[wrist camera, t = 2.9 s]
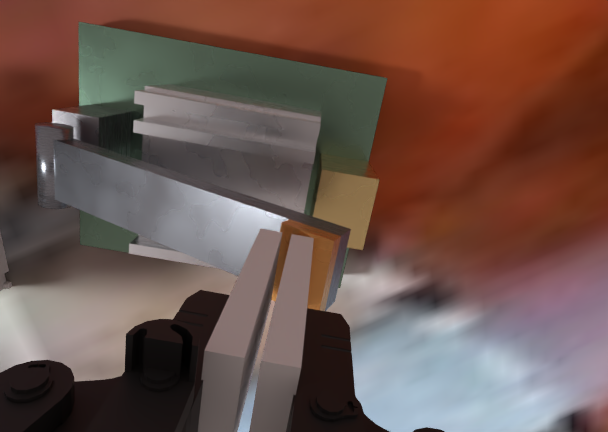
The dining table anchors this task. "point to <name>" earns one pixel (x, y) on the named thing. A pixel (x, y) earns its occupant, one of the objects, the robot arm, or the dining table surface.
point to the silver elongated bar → (180, 209)
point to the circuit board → (228, 127)
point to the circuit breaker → (3, 267)
